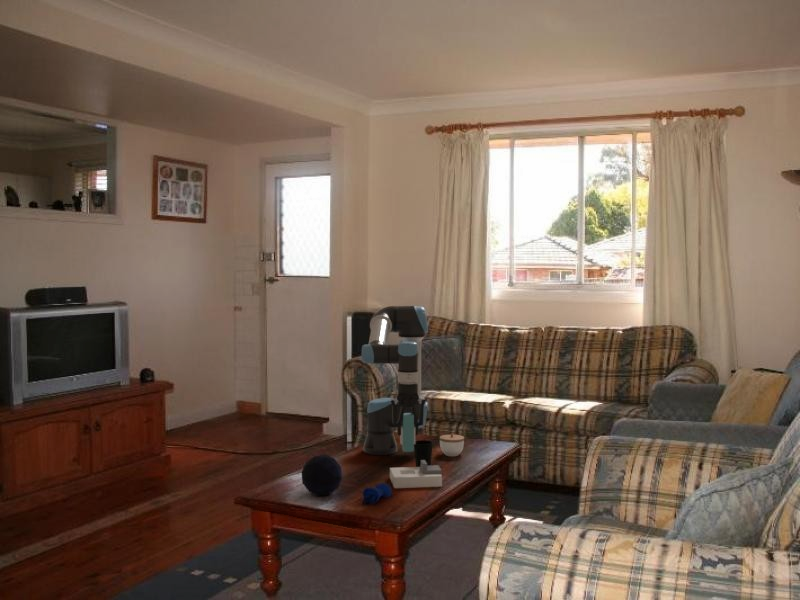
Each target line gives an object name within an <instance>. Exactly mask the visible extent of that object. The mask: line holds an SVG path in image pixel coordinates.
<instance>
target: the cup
mask: <svg viewBox="0 0 800 600" xmlns="http://www.w3.org/2000/svg"><path fill="white" fill-rule="evenodd" d="M433 444H434V443H433V441H432V440H427V439H425V440H423V439H422V440H421V439H420V440H419V439H418V440H415V444H414V451H413V452H414V460H415V467H420V466H421V460H425V461H426V463H427V466H430V465H432V455H433V447H434V445H433Z"/></svg>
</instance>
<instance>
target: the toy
mask: <svg viewBox="0 0 800 600" xmlns="http://www.w3.org/2000/svg"><path fill="white" fill-rule="evenodd" d="M362 496H363V498H362V499H363V500H362V505H366V504H367V503H370V506H372V507H374V506H375V503H377V502H379V500H380V498H385V499H387V498H390V497H391V496H392V487H391V486H390V485H389V484H388V483H386V482H380V483H377V485H376V486H375V487H373V486H372V487H366V488H363V491H362Z"/></svg>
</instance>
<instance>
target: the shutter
mask: <svg viewBox="0 0 800 600" xmlns="http://www.w3.org/2000/svg"><path fill="white" fill-rule="evenodd" d="M420 470H421V472H422V473H423V474H435V473H440V474H442V471H443V470H442V468H441V467H440V465H438V464H436V465H434V464H433V465H432V464H431V465H430V466H427V463H426V461H425V460H421V466H420Z"/></svg>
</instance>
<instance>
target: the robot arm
mask: <svg viewBox="0 0 800 600" xmlns="http://www.w3.org/2000/svg"><path fill="white" fill-rule="evenodd" d="M369 328H370V332H369V333H370V334H369V340H368V344H363V345H362V346H361V361H362V363H363V364H370V365H374V364H377V365H378V364H381V365H382V364H385V365H386V364H391V365H393V364H394V365H395V364H397V367H398V368H397V369H398V370H397V382H398V384H397V395H396V398H393V397H380V398H376V399H372V400H370V401H369V402H368V403H367V411H366V413H367V416H366V417H367V429H366V431H367V432H366V433H367V434H366V436H365V440H364V444H363V445H362V446H363V447H362V450H363V453H365V454H367V455H374V456H384V455H385V456H387V455H388V456H389V455H392V454H396V453H397V452H398V444H397V441H396V437H395V434H394V429H397V433H396V434H397V436H399V442H400V443H399V444H400V445H401V446H402V445H403V427H402V420H403V415H404V413H412V414H414V444H415V441H416V436H418V435H419V429H423V428H424V427H425V425H426V421H427V416H428V415H427V413H428V405H429V403H428V402H427V401H426V399H425V396H424V395H422V340H423V339H424V338H425V337H426V334H428V332H429V328H428V321H427V310H426V308H425V307H423V306H421V305H420V306H419V305H389V306H385V307H383V308H381V309H379V310H378V311H376V312H375V313H374V314H373V316H372V317H371V319H370V322H369ZM389 333H398V338H399V339H400V340H401V341H399V343H398V344H388V341H389Z"/></svg>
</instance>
